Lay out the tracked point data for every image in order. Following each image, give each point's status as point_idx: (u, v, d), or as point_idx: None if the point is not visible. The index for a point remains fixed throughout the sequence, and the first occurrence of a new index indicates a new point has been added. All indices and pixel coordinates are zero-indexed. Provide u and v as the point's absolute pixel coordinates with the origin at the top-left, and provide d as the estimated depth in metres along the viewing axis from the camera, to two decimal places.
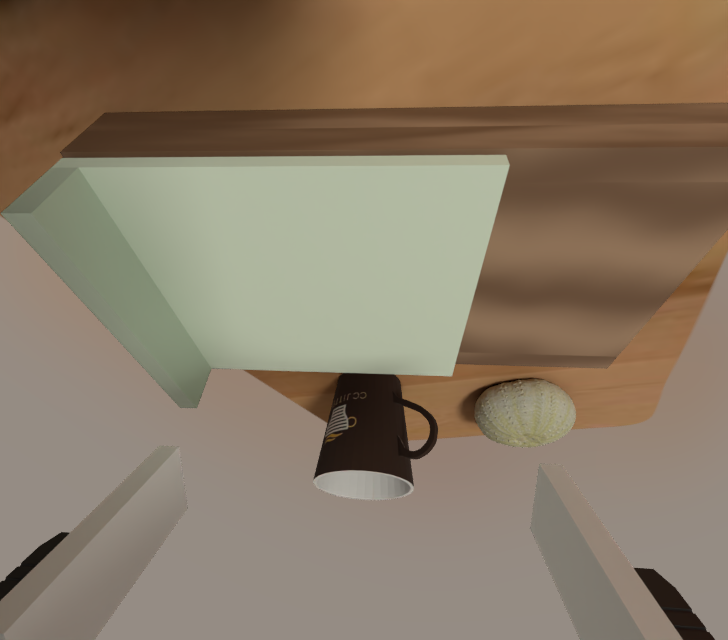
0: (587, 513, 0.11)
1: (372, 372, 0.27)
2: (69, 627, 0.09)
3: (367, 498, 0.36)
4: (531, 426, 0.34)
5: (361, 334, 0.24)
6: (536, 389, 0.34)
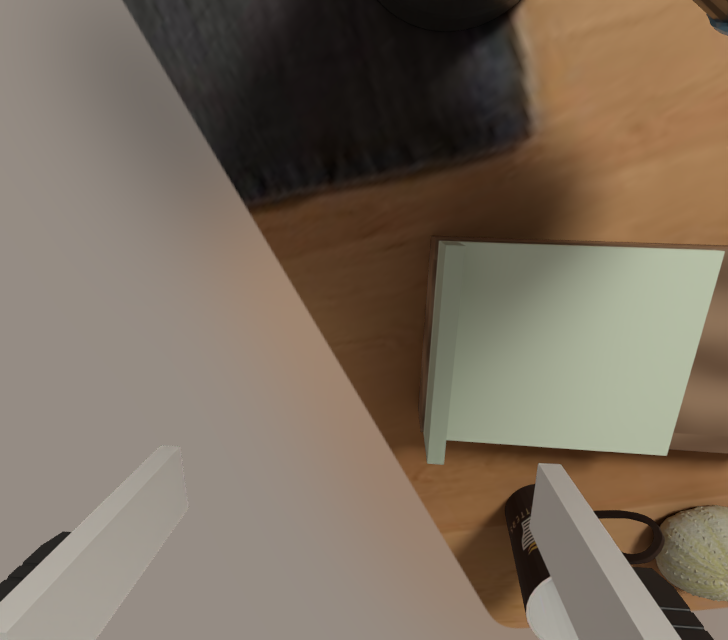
0: (586, 512, 0.11)
1: (592, 449, 0.30)
2: (71, 626, 0.09)
3: None
4: None
5: (595, 396, 0.29)
6: (724, 511, 0.34)
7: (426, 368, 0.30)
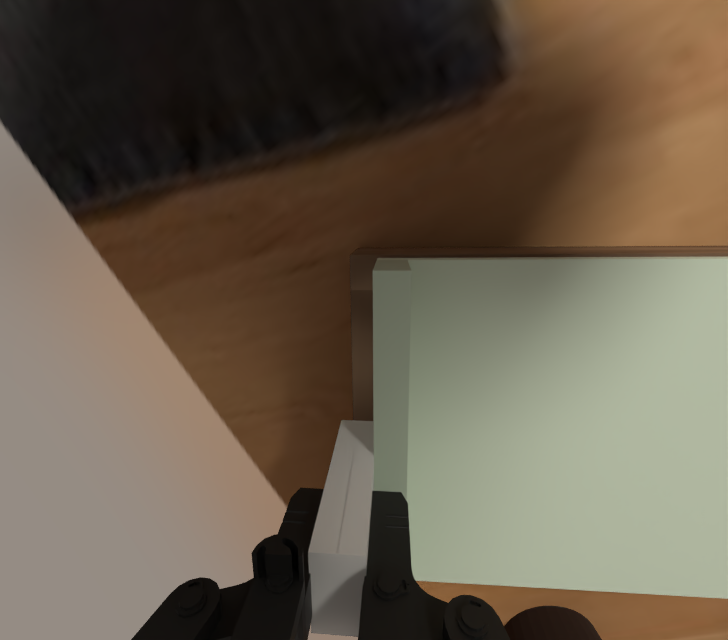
0: (367, 453, 0.14)
1: (655, 592, 0.18)
2: None
3: None
4: None
5: (660, 511, 0.17)
6: None
7: None
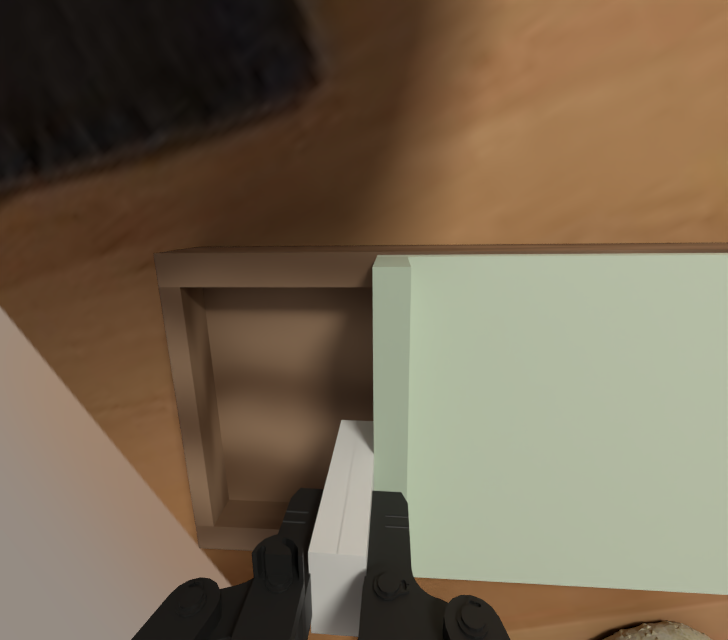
0: (367, 453, 0.14)
1: (655, 588, 0.18)
2: None
3: None
4: None
5: (660, 507, 0.17)
6: (679, 638, 0.23)
7: (186, 455, 0.19)
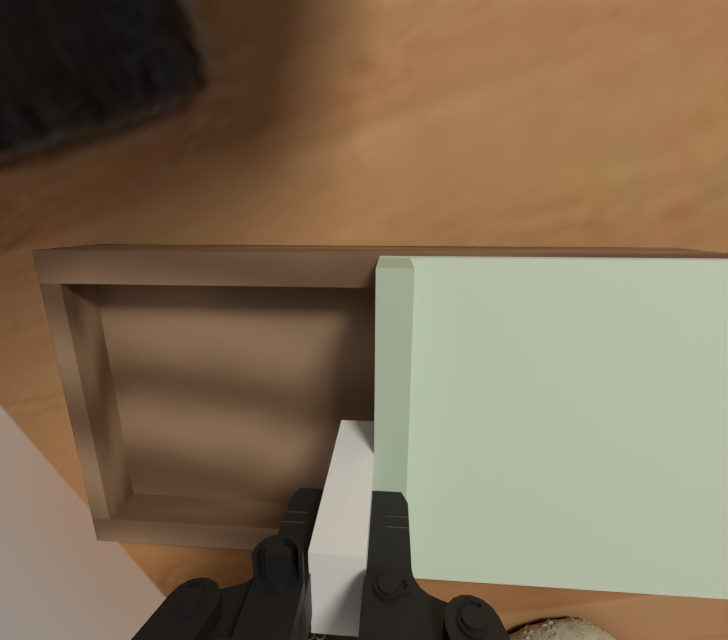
0: (367, 453, 0.14)
1: (652, 592, 0.18)
2: None
3: None
4: None
5: (658, 511, 0.17)
6: (576, 633, 0.23)
7: (79, 449, 0.20)
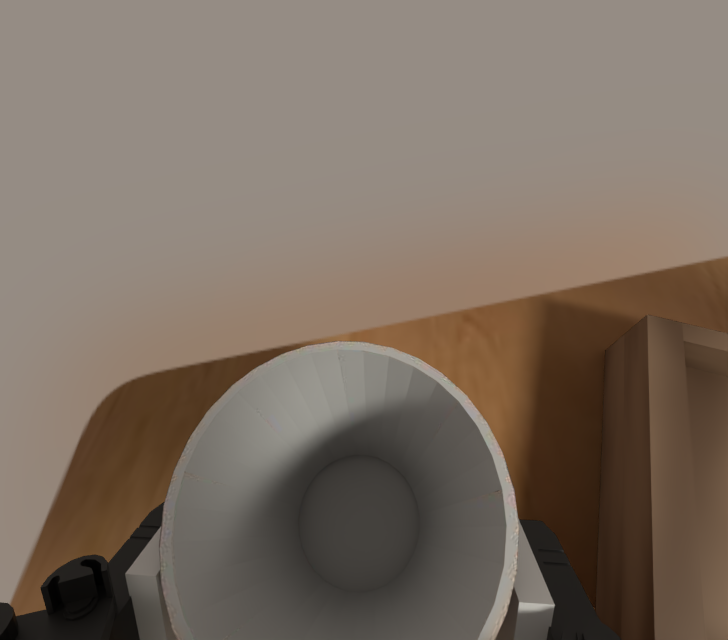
0: None
1: None
2: None
3: (193, 452, 0.10)
4: None
5: None
6: None
7: None
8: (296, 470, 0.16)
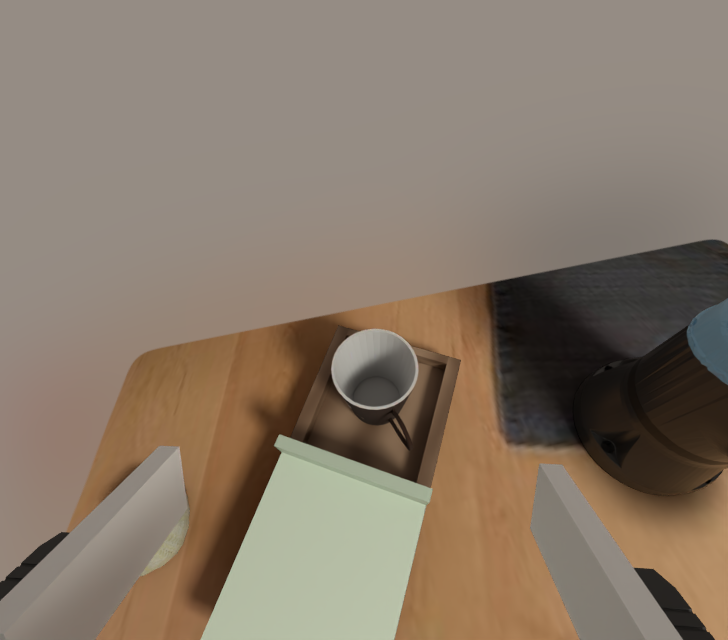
0: (587, 513, 0.11)
1: (227, 580, 0.35)
2: (69, 627, 0.09)
3: (336, 357, 0.38)
4: None
5: (274, 593, 0.34)
6: (182, 540, 0.40)
7: None
8: (354, 377, 0.44)
